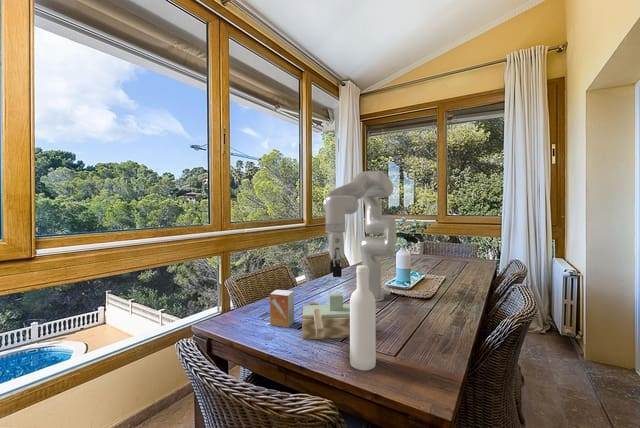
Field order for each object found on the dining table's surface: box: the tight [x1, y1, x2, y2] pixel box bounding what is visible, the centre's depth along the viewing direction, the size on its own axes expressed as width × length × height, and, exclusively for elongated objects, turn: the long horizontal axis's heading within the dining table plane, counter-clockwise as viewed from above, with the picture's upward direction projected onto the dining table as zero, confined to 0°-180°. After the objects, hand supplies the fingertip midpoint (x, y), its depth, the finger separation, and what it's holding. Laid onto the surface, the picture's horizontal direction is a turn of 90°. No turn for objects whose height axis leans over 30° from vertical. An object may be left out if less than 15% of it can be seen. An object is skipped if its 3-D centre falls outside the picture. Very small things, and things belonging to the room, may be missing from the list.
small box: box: [269, 289, 295, 329], centre depth 119 cm, size 8×6×13 cm
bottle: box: [349, 264, 377, 371], centre depth 88 cm, size 8×8×30 cm
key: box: [314, 309, 325, 340], centre depth 95 cm, size 2×16×3 cm, turn 5°
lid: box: [301, 293, 350, 319], centre depth 112 cm, size 20×10×7 cm, turn 95°
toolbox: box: [301, 301, 350, 340], centre depth 112 cm, size 20×15×8 cm
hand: (335, 273), depth 112 cm, fingers open, 7 cm apart
